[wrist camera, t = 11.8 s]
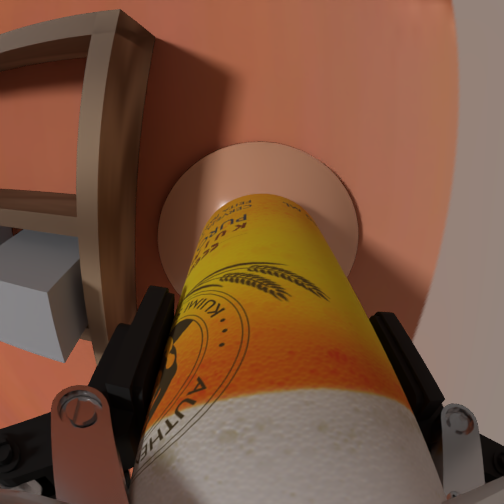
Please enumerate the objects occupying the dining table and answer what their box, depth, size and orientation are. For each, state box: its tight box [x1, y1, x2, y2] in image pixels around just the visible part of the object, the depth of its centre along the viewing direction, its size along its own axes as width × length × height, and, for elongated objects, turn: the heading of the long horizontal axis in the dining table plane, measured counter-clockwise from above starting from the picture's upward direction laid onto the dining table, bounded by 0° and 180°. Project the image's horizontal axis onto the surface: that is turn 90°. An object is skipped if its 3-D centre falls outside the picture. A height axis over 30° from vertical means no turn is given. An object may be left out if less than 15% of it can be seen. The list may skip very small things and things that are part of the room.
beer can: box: [128, 193, 447, 504], centre depth 9 cm, size 6×6×15 cm
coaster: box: [158, 141, 358, 296], centre depth 17 cm, size 11×11×1 cm
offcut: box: [0, 229, 88, 363], centre depth 14 cm, size 4×6×7 cm
